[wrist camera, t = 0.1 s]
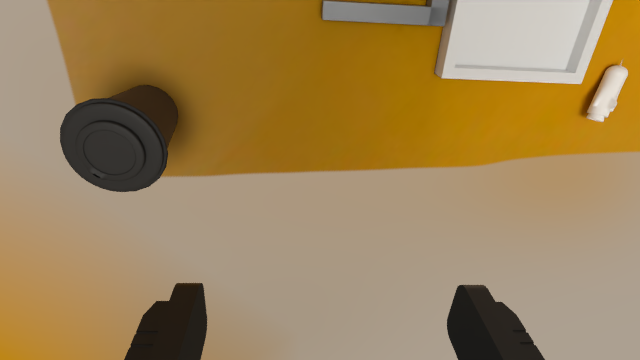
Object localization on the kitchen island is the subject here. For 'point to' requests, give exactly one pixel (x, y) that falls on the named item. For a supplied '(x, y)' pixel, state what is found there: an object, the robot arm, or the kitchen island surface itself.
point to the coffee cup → (120, 138)
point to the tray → (520, 39)
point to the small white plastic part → (607, 93)
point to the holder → (386, 12)
